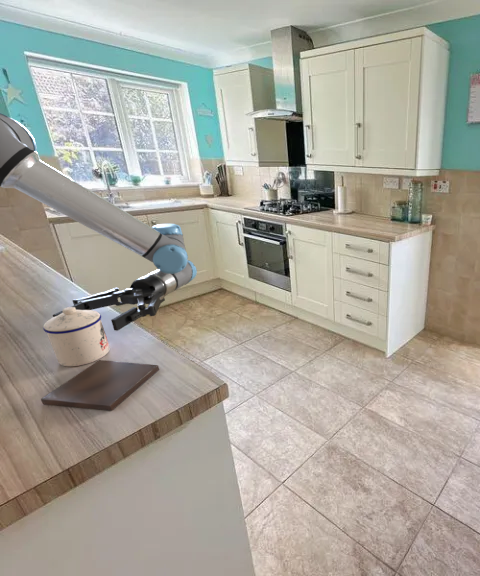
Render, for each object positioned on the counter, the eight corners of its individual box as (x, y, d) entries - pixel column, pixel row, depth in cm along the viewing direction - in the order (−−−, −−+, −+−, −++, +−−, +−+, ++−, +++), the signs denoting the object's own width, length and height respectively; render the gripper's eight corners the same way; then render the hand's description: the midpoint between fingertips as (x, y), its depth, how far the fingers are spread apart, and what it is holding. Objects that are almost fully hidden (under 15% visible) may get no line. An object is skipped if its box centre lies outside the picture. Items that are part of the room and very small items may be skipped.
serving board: (42, 404, 59) (40, 399, 58) (100, 364, 70) (99, 359, 69) (111, 410, 58) (109, 405, 58) (159, 369, 69) (158, 365, 69)
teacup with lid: (116, 355, 73) (102, 308, 68) (61, 373, 66) (41, 323, 62) (102, 335, 80) (88, 292, 75) (51, 350, 73) (32, 303, 69)
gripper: (198, 302, 93) (142, 341, 74) (114, 295, 94) (38, 333, 75) (193, 277, 90) (134, 312, 71) (107, 271, 91) (26, 303, 72)
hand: (84, 323), depth 73 cm, fingers open, 13 cm apart
